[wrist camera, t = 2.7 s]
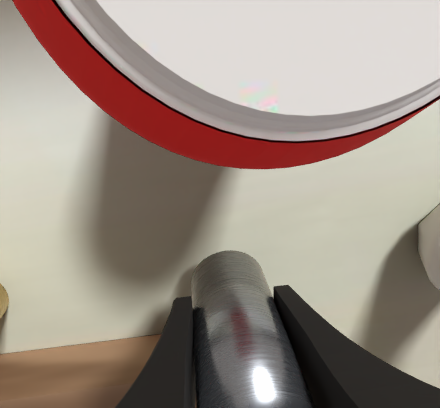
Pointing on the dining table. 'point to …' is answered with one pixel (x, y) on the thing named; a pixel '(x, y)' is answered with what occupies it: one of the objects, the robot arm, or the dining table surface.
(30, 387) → the hole block
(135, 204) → the dining table surface
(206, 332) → the long pin
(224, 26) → the beverage can
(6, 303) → the short pin
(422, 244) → the salt shaker
